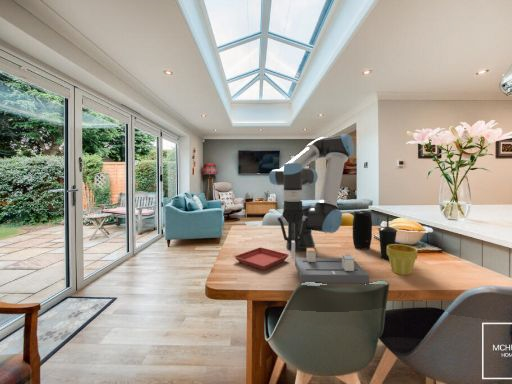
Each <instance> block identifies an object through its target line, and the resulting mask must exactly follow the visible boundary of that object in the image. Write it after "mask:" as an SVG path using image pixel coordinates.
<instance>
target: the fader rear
mask: <svg viewBox="0 0 512 384" xmlns="http://www.w3.org/2000/svg"><path fill="white" fill-rule="evenodd" d="M315 249H316V248H315ZM315 249H314V248H306V251H305V252H306V253H305V254H306V256H305V258H306V259H307V261H308V262H316V258H317V255H316V252H317V251H316V250H315Z"/></svg>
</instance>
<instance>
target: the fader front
mask: <svg viewBox="0 0 512 384" xmlns="http://www.w3.org/2000/svg"><path fill="white" fill-rule="evenodd" d="M341 258H342V267H343V269H344V270H345V271H354V261H355V258H354V257H353V256H352V255H351V254H341Z"/></svg>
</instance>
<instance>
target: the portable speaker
mask: <svg viewBox="0 0 512 384" xmlns="http://www.w3.org/2000/svg"><path fill="white" fill-rule="evenodd" d="M372 238H373V222H372V214H371V211H367V210H360V211H354V212H353V218H352V241H353V242H352V243H353V246H354V249H357V250H363V249H367V250H370V249H371V244H372Z"/></svg>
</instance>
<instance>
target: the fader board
mask: <svg viewBox="0 0 512 384" xmlns="http://www.w3.org/2000/svg"><path fill="white" fill-rule="evenodd" d="M294 266H295V269H296V271H297V274H298V277H299V281H300V284H301V283H302V284H304V283H303V282H322V283H321V284H370V274H369V273H368V272H367V271H366V270H365V269H364V268H362V267H361V265H359V264H358V263H357V262H356V261H355V260H354V271H345V270H344V269H343V267H342V257H316V262H308V261H307V259H306V257H295V258H294Z"/></svg>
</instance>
